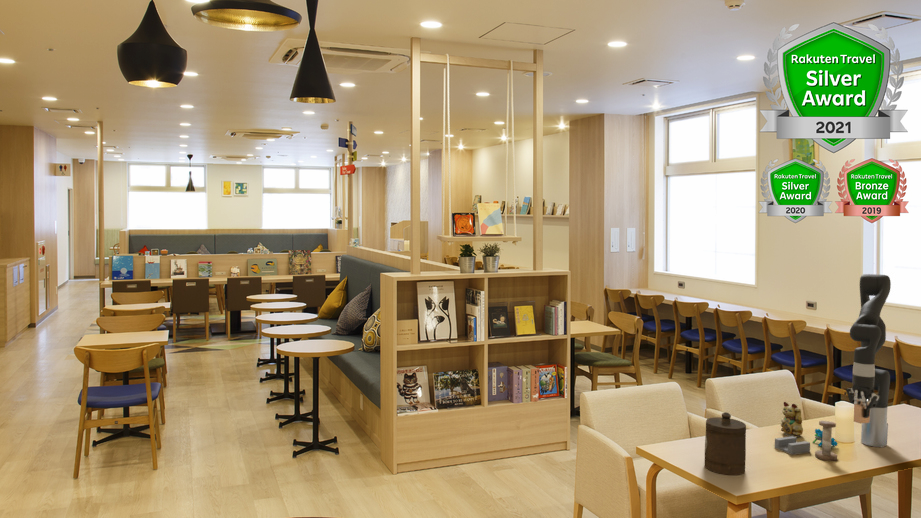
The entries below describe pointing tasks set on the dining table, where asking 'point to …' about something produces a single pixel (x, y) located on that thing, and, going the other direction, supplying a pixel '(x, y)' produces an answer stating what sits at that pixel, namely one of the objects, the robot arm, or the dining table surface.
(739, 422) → the wooden container
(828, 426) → the bobbin
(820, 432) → the gear
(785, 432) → the decorative figurine
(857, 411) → the copper tab
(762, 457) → the dining table surface
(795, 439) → the grooved channel block
